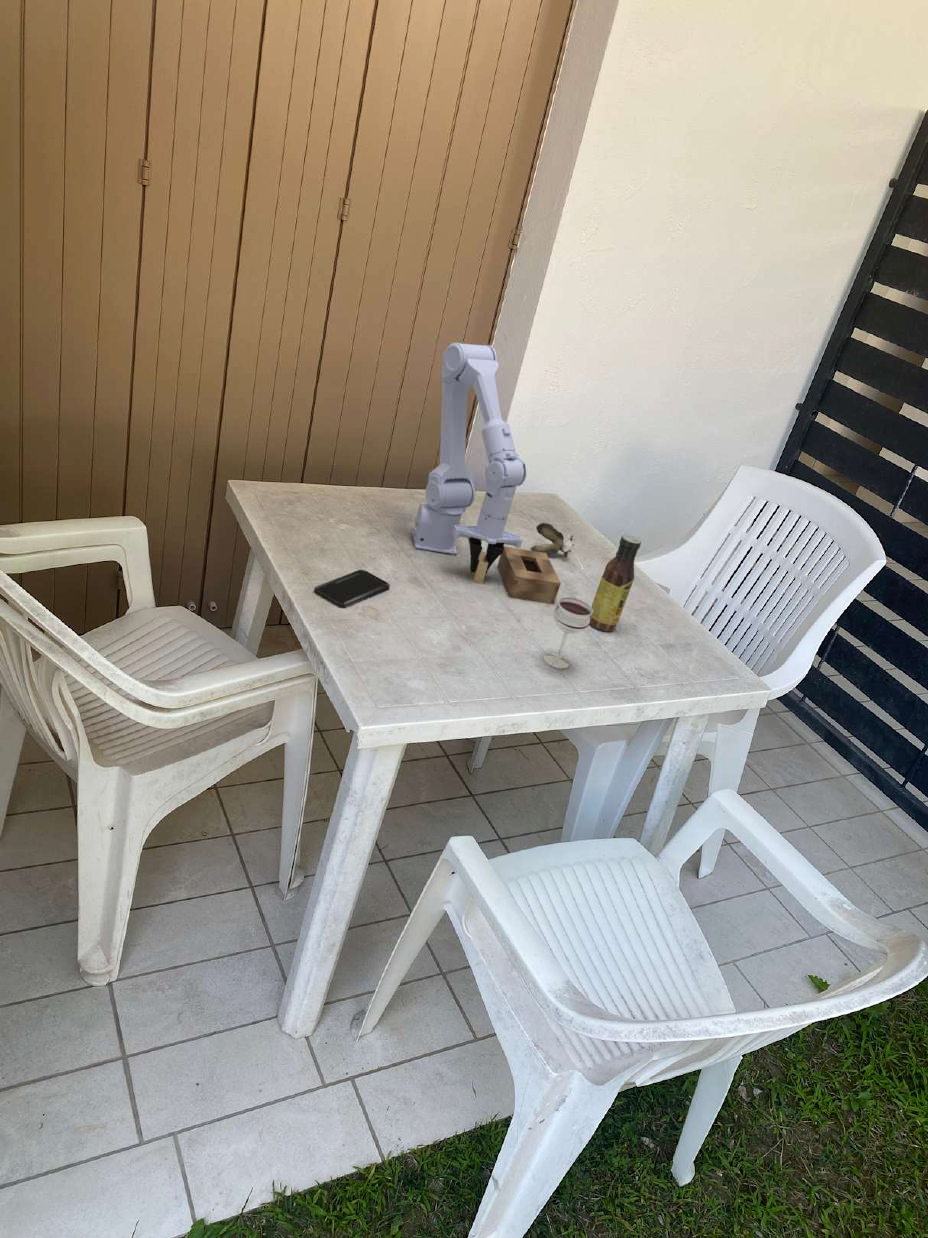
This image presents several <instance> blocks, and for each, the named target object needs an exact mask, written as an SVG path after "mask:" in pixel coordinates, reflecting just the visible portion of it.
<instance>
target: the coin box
mask: <svg viewBox="0 0 928 1238" xmlns="http://www.w3.org/2000/svg"><path fill="white" fill-rule="evenodd" d="M497 569H498V572H499V574H500V577H501V579H502V582H503V585H504V588H505V590H506V593H507V595H508V598H513V599H519V600H525V601H526V600H527V601H531V602H532V601H533V602H537V603H538V602H540V603H544V604H545V603H546V604H552V605H555V602H556V599H557V596H558V593H559V590H560V587H561V584H562V583H561V581H560V579H559V577H558V574H557V573H556V572H557V571H555V569H554V566H553V564H552V562H551V560H550V558H549V556H548V554H547V553H542V552H536V551H531V549H530V550H529V549H524V548H516V547H513V546H512V547H510V546H505V545H504V551H503V553H502V554H501V555H500V556H499V558H498V563H497Z"/></svg>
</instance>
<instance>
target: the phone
mask: <svg viewBox="0 0 928 1238" xmlns="http://www.w3.org/2000/svg"><path fill="white" fill-rule="evenodd" d="M390 587H391V584H390V583H389V582H387V581H385V580H383V579H382V578H380V577H378V576H376V575H374V574H372V573H371V572H370V571H367V570H366V569H358V570H356V571H352V572H350V573H347V574H345V575H342V576H340V577H337V578H335V579H332V580H330V581H326V582H325V583H321V584H319V585H317V586H315V587H314V590H313V593H314V594H315V595H317V596H319V597H321V598H322V599H324V600H326V601H327V602H329V603H331V604H332V605H334V606H336V607H338V608H339V609H348V608H349V607H351V606H355V605H357V604H359V603H362V602H364V601H366V600H368V598H369V599H371V598H373V597H375V596H378V595H380V594H383V593H385V592H388V591H389V590H390ZM363 600H364V601H363ZM361 601H362V602H361ZM356 603H357V604H356ZM354 604H355V605H354ZM347 607H348V608H347Z"/></svg>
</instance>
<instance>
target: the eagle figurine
mask: <svg viewBox="0 0 928 1238" xmlns="http://www.w3.org/2000/svg"><path fill="white" fill-rule="evenodd" d="M536 530H537V533H538V534H539V535H541V536H542V537H543V538H544V539H545V540H548V541H550V542H551V543H549V544H548V543H547V544H540V545H533V546H532V547H530V551H536V552H542V553H546V554H547V553H548V554H549V553H550V554H552V555H553V554H558V552H559V551H561V552H562V553H563V554H564V557H565V558H566V559H567V558H568V553H572V550H571V549H572V547H574V546H575V544H573V538H574V534H572V535H571V536H570V538H569V539H568V540H565V537H564V535H563V534H562V532H560V531H558V530H557V529H556V528H555V527H554V526H553V524H551V523H548V522H541V523H539V524H537V526H536ZM564 540H565V541H564Z"/></svg>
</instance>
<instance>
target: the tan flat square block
mask: <svg viewBox="0 0 928 1238" xmlns="http://www.w3.org/2000/svg"><path fill="white" fill-rule="evenodd" d="M488 563H489V562H488V560H487V557H486V551H481V553H480V555H479V558H478V561H477V565H476V569H475V572H474V573H473V572H471V570H470V569H469V572H470V575H471V578H472V582H473V583H478V584H483V583H484V579H485V576H486V574H487V573H486V570H487V566H488ZM485 573H486V574H485Z"/></svg>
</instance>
